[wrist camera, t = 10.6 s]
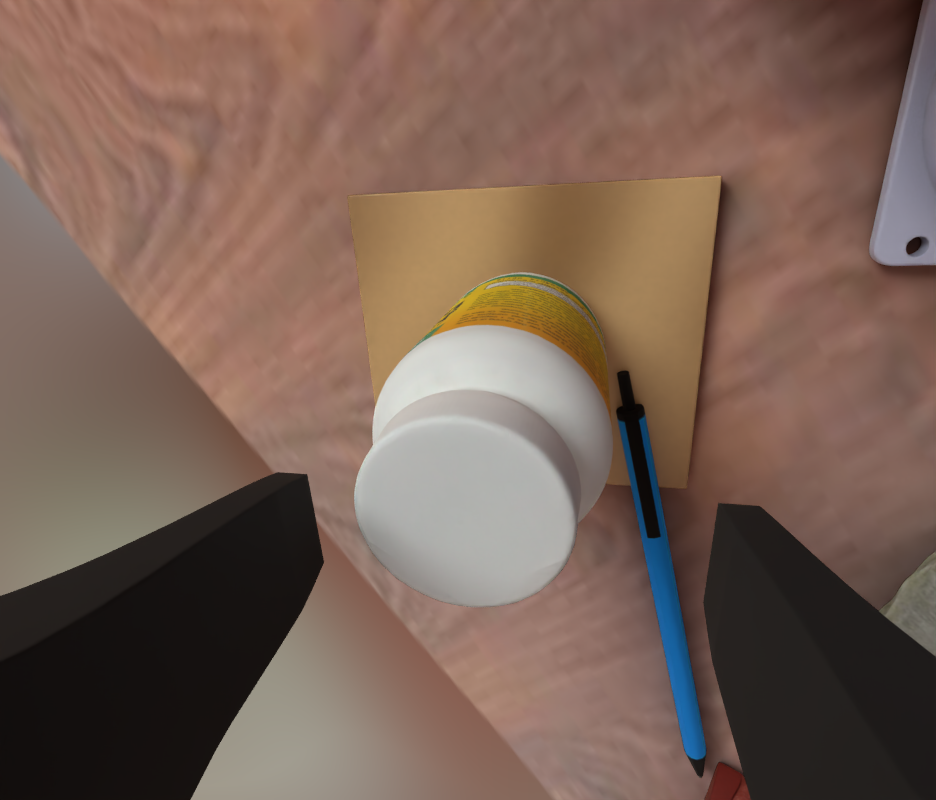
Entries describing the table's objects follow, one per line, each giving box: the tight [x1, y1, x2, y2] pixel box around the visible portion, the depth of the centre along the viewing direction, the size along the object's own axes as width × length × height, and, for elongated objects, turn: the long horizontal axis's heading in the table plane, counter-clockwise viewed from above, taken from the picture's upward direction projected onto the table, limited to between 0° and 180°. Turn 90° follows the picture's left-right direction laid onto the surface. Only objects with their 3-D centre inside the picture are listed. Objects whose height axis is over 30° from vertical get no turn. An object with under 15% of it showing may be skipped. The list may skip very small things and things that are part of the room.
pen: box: [616, 370, 707, 778], centre depth 21 cm, size 1×19×1 cm, turn 16°
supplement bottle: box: [354, 272, 613, 607], centre depth 14 cm, size 5×5×10 cm
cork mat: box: [347, 176, 722, 489], centre depth 18 cm, size 11×10×1 cm
